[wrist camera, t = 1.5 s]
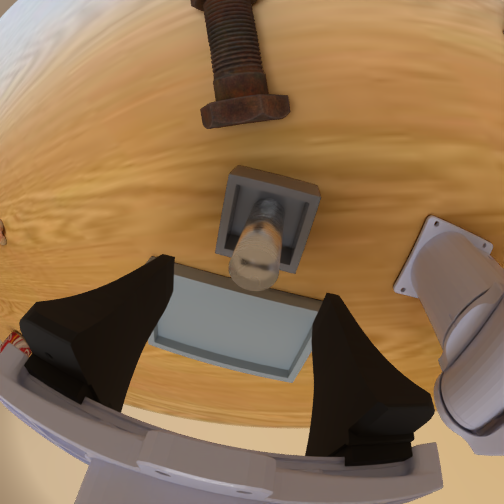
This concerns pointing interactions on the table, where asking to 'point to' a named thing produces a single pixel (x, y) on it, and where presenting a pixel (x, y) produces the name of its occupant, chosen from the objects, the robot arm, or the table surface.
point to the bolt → (237, 67)
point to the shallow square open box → (274, 187)
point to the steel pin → (259, 247)
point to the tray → (236, 325)
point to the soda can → (16, 343)
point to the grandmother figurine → (0, 237)
